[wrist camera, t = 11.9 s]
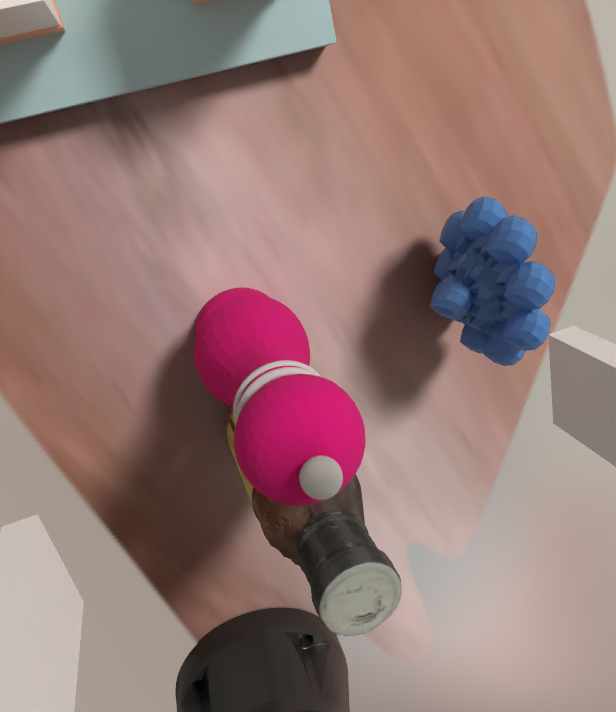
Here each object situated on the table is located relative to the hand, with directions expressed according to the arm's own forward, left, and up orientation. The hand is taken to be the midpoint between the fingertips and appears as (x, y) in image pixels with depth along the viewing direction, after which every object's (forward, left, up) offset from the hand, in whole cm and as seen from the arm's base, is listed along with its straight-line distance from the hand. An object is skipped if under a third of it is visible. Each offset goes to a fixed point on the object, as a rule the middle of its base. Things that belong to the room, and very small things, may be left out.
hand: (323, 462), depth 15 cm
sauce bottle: (-13, -1, -27) cm, 30 cm away
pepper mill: (-6, -1, -27) cm, 28 cm away
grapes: (-6, -16, -27) cm, 32 cm away
